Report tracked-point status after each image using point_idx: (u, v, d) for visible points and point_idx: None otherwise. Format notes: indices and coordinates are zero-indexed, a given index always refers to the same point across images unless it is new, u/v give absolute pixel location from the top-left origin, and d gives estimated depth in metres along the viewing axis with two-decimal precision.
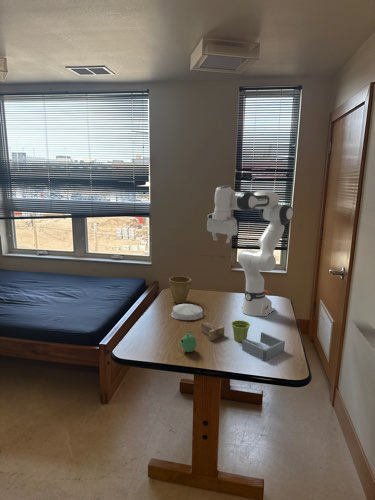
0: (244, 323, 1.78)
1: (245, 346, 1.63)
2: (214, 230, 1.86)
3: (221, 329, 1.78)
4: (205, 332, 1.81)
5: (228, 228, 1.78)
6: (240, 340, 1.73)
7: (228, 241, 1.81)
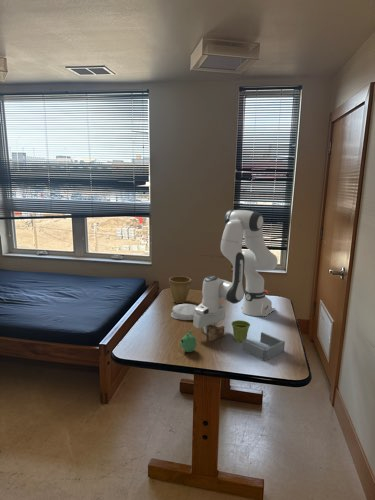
0: (244, 323, 1.78)
1: (245, 346, 1.63)
2: (206, 323, 1.76)
3: (221, 329, 1.78)
4: None
5: (221, 315, 1.83)
6: (240, 340, 1.73)
7: None
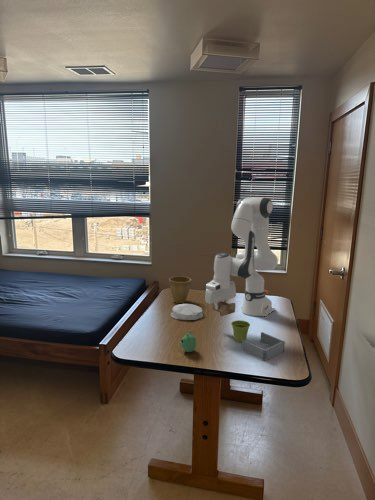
0: (244, 323, 1.78)
1: (245, 346, 1.63)
2: (218, 300, 1.79)
3: (232, 305, 1.81)
4: (216, 309, 1.84)
5: (232, 292, 1.85)
6: (240, 340, 1.73)
7: None
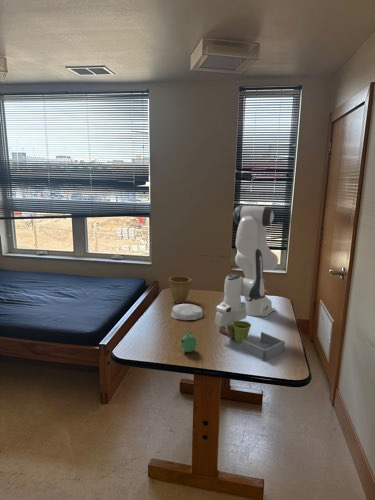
0: (245, 323, 1.77)
1: (245, 346, 1.63)
2: (228, 322, 1.75)
3: None
4: (223, 331, 1.82)
5: (242, 313, 1.81)
6: (241, 340, 1.72)
7: None
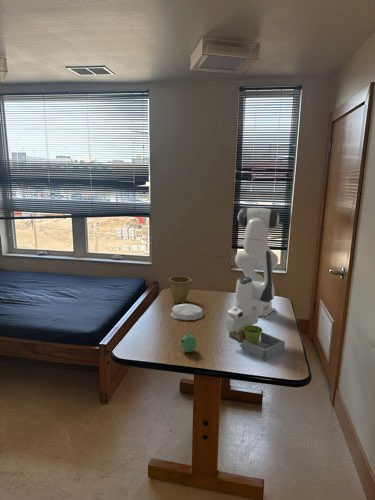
0: (256, 328, 1.72)
1: (245, 346, 1.63)
2: (240, 327, 1.69)
3: None
4: (233, 336, 1.76)
5: (254, 318, 1.75)
6: None
7: None
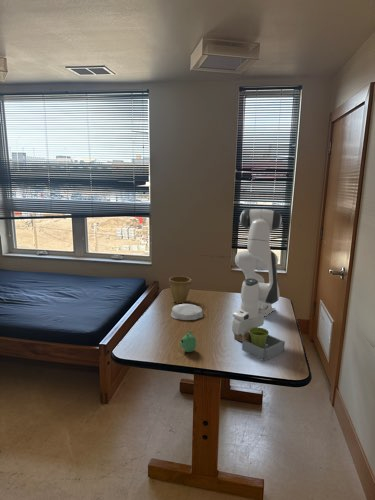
0: (261, 330, 1.69)
1: (245, 346, 1.63)
2: (246, 330, 1.66)
3: None
4: (238, 338, 1.74)
5: (260, 320, 1.72)
6: None
7: None
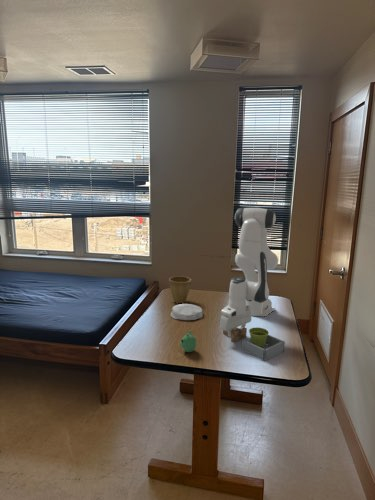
0: (261, 330, 1.69)
1: (245, 346, 1.63)
2: (233, 326, 1.73)
3: (243, 330, 1.77)
4: (227, 333, 1.80)
5: (247, 317, 1.79)
6: None
7: None
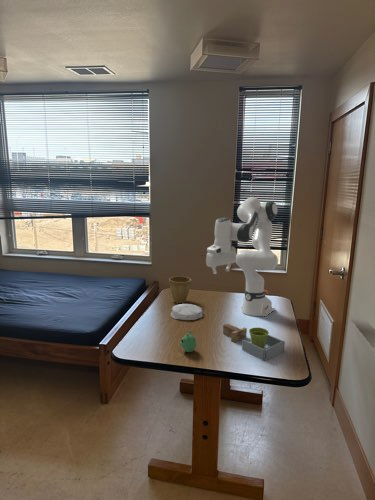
0: (261, 330, 1.69)
1: (245, 346, 1.63)
2: (218, 263, 1.82)
3: (243, 330, 1.77)
4: (227, 333, 1.80)
5: (232, 257, 1.88)
6: None
7: None
